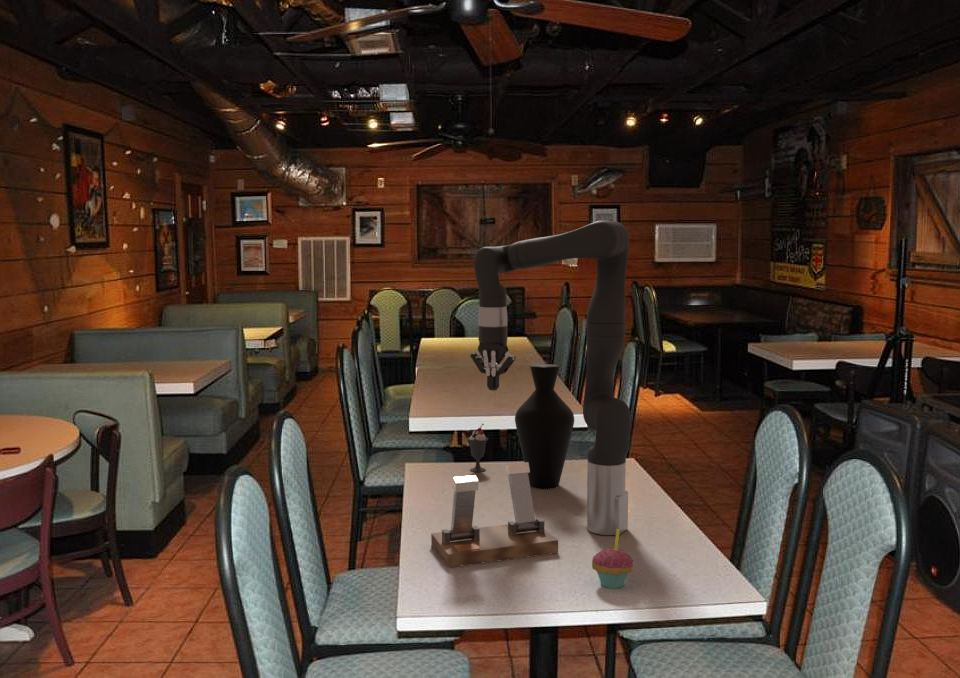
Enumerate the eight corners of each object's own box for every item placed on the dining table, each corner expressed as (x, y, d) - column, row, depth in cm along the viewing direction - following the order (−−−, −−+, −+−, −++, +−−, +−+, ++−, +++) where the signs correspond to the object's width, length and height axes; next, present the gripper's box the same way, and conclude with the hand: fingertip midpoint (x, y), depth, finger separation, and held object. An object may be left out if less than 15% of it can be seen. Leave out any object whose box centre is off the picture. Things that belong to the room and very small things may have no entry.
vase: (506, 479, 248) (506, 363, 244) (560, 474, 253) (560, 360, 249) (527, 496, 231) (527, 372, 227) (583, 490, 236) (584, 369, 232)
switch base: (534, 532, 202) (534, 510, 202) (558, 552, 189) (558, 528, 188) (431, 545, 194) (431, 522, 193) (448, 567, 181) (448, 542, 180)
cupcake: (605, 572, 178) (606, 518, 176) (641, 582, 172) (642, 526, 171) (583, 585, 171) (584, 529, 170) (620, 596, 166) (621, 538, 164)
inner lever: (535, 530, 195) (524, 464, 200) (539, 529, 193) (528, 462, 198) (514, 533, 193) (504, 465, 198) (518, 532, 191) (507, 464, 196)
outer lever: (469, 534, 191) (475, 474, 185) (472, 540, 189) (478, 480, 183) (447, 537, 189) (453, 477, 183) (450, 543, 187) (456, 482, 181)
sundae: (488, 473, 255) (488, 425, 253) (466, 473, 255) (466, 425, 253) (488, 467, 261) (488, 420, 260) (467, 467, 262) (467, 420, 260)
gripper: (522, 324, 215) (522, 390, 217) (478, 321, 222) (478, 385, 224) (508, 326, 209) (508, 394, 211) (463, 324, 215) (464, 390, 217)
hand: (493, 389), depth 217 cm, fingers closed
